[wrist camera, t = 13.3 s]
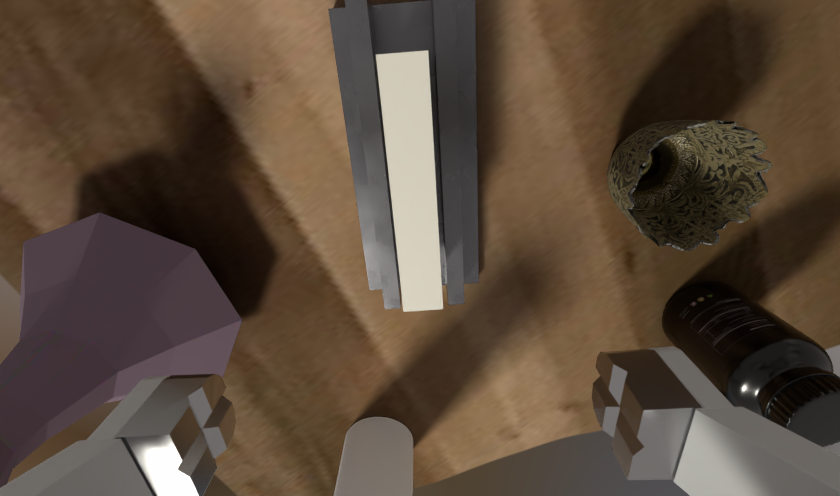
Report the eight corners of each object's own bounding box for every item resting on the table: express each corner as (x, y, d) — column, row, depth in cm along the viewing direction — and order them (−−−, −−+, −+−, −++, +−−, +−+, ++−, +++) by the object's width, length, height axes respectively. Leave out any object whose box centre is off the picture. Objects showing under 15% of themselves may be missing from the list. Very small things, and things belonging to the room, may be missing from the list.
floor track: (331, 11, 25) (316, 1, 21) (473, -1, 25) (482, -13, 21) (370, 283, 33) (365, 310, 30) (477, 276, 33) (484, 302, 29)
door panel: (387, 58, 25) (375, 54, 18) (425, 55, 25) (428, 50, 18) (406, 254, 31) (403, 311, 24) (437, 252, 31) (442, 309, 24)
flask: (25, 281, 33) (-458, 542, 15) (129, 148, 28) (-383, 289, 10) (191, 390, 38) (-16, 683, 20) (302, 292, 34) (166, 556, 15)
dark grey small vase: (648, 83, 27) (735, 88, 19) (701, 159, 29) (796, 189, 22) (560, 160, 29) (608, 190, 22) (615, 226, 31) (676, 273, 24)
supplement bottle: (749, 317, 35) (901, 430, 24) (676, 354, 37) (786, 476, 26) (722, 262, 33) (876, 360, 22) (645, 305, 34) (752, 416, 23)
